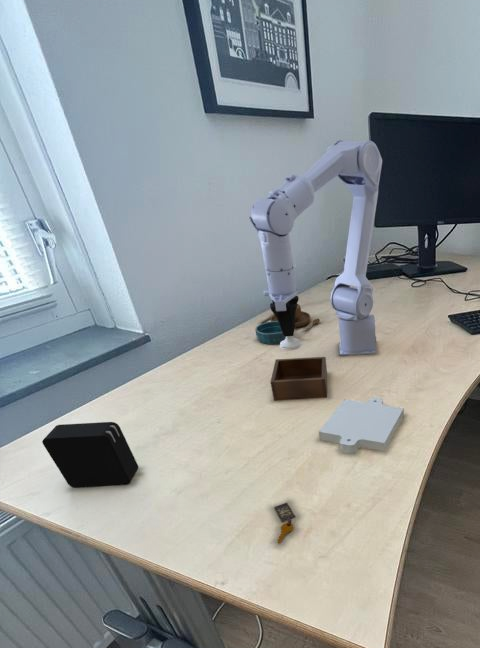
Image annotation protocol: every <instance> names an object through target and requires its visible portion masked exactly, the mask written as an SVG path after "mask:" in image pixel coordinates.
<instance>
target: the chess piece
mask: <svg viewBox="0 0 480 648" xmlns="http://www.w3.org/2000/svg"><path fill="white" fill-rule="evenodd" d="M302 346H303V344H302V341H301V339H298V338H296V337H294V336H286V338H285V340H283V341H281V343H279V348H280V349H281V350H283V351H295V350H298V349H300V348H301V347H302Z"/></svg>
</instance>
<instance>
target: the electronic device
mask: <svg viewBox="0 0 480 648" xmlns="http://www.w3.org/2000/svg"><path fill="white" fill-rule="evenodd" d="M41 443H42V445H43V447H44V448H45V450H46V451H47V453H48V454H49V457H51V460H52V461H53V462H54V464H55V466H56V467H57V469H58V470H59V472H60V474H61V475H62V477H63V478H64V480H65V482H66V483H67V486H69V487H70V488H74V489H83V488H85V489H86V488H98V487H101V488H103V487H115V486H116V487H117V486H128V485H130V483H131V482H132V481H133V479H134V477H135V475H136V473H137V471H138V470H139V464H138V463H137V459H136V458H135V456H134V453H133V452H132V450H131V448H130V445H129V443H128V442H127V439H126V438H125V435H124V432H123V430H122V429H121V426H120V425H119V424H118V423H117V422H114V421H100V422H85V423H83V422H82V423H81V422H80V423H65V424H63V423H62V424H57V425H55V426H54V428H53V429H51V431H50V432H49V433H48V434H46V436H45V437H44V438H43V439H42V441H41Z"/></svg>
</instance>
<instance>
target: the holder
mask: <svg viewBox="0 0 480 648" xmlns="http://www.w3.org/2000/svg"><path fill="white" fill-rule="evenodd" d="M270 387H271V391H272V396H273V401H275V402H276V401H292V400H293V401H294V400H295V401H296V400H311V399H326V398H328V366H327V357H326V356H315V357H312V356H311V357H295V358H281V359H280V358H277V359H275V361H274V364H273V369H272V374H271V378H270Z"/></svg>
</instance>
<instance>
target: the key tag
mask: <svg viewBox="0 0 480 648" xmlns="http://www.w3.org/2000/svg"><path fill="white" fill-rule="evenodd" d="M273 509H274V510H275V512H276V514H277V516H278V518H279V520H280V521H281V522H285V521H287V522H285V523H283V524H282V525H281V526H280V530H281V531H280V534H279V536H278V538H277V543H279V544H280V543H281V542H282V540H283V538H284V537H285V535H288V533H290V532H291V531H292V530H293V529H294V525H293V524H292V519H293V518H296V516H295V514H294V512H293V510H292V508H291V507H290V505H289V503H288V502H284V503H282V504H279V505H275V506H274V507H273Z"/></svg>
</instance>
